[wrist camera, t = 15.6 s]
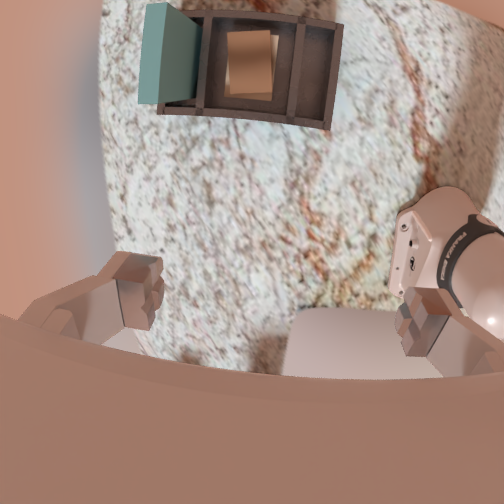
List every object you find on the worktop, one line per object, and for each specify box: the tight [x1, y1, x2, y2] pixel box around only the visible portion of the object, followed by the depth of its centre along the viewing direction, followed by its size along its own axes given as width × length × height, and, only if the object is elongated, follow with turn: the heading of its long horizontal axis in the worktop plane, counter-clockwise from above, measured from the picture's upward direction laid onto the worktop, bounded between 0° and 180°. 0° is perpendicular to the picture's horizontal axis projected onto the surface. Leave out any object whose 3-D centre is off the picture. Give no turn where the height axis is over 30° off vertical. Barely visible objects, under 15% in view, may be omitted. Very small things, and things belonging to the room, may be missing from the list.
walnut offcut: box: [227, 30, 272, 94], centre depth 33 cm, size 8×5×2 cm, turn 2°
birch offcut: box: [224, 35, 279, 101], centre depth 36 cm, size 9×6×2 cm, turn 174°
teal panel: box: [138, 2, 203, 104], centre depth 30 cm, size 10×2×16 cm, turn 174°
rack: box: [157, 10, 344, 131], centre depth 35 cm, size 14×22×6 cm, turn 84°
